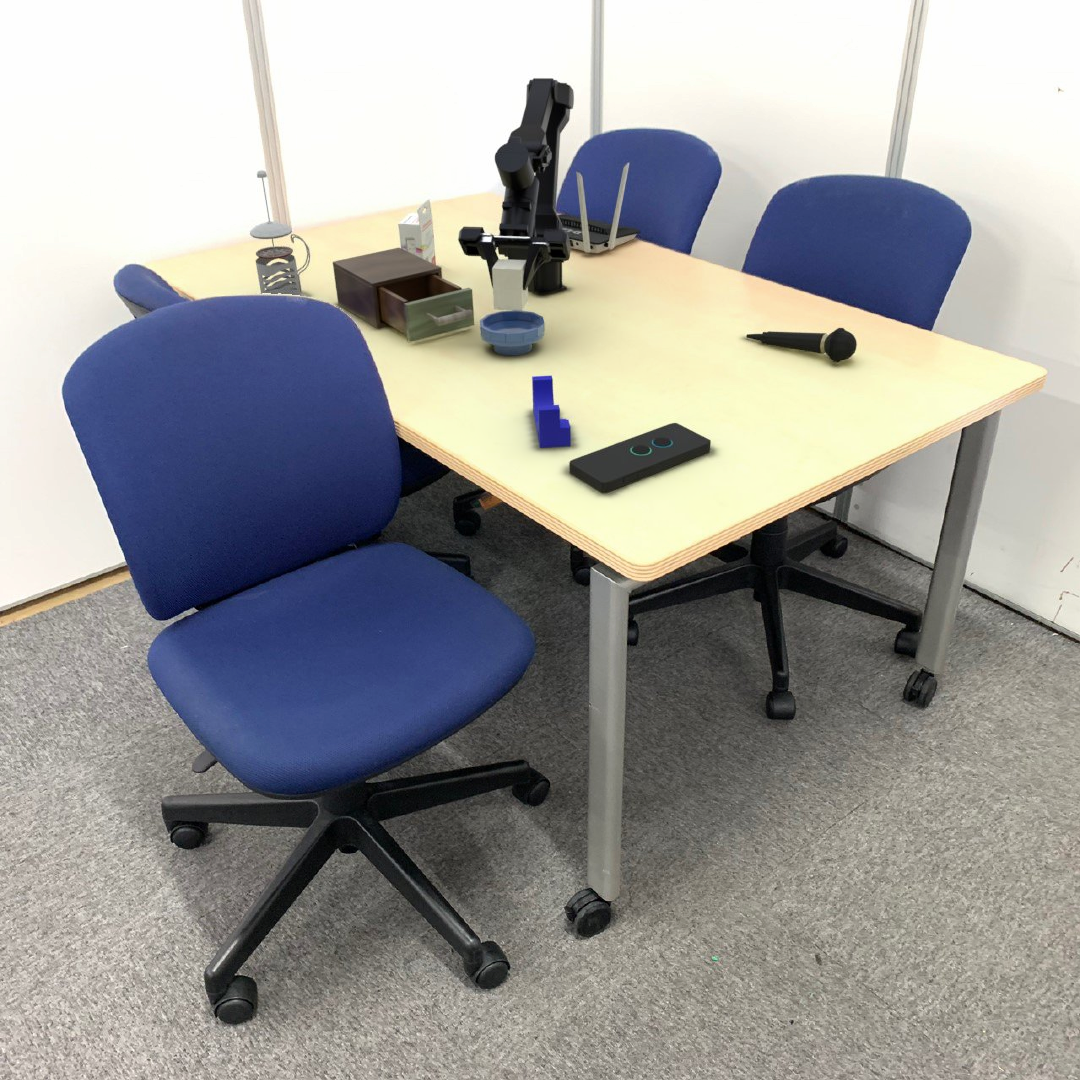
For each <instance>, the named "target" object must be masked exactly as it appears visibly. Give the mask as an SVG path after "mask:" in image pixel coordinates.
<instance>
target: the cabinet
mask: <svg viewBox="0 0 1080 1080" xmlns="http://www.w3.org/2000/svg"><path fill="white" fill-rule="evenodd" d="M332 267H333V275H334V283H335V290H336V291H335V292H336V298H337V304H338V305H337V306H339V307H341V308H343V309H344V310H346V311H348V312H350V313H351V314H353V315H354V316H356V317H357V318H359V319H361V320H363V321H364V322H366V323H368V324H369V325H371V326H372V327H374V328H375V329H381V328H385V327H389V326H390V325H389V324H387V323H386V322H384V321H382V320H381V319H380V315H379V306H378V297H377V288H376V287H378V286H382V285H387V284H391V283H395V282H400V281H404V280H408V279H412V278H417V277H421V276H425V275H430V274H435V275H437V276H439V277H441V278H443V271H442V266H439V265H437V264H436V265H435V264H432V263H430V262H428V261H426V260H424V259H422V258H420V257H418V256H416V255H414V254H412V253H410V252H407V251H405V250H403V249H401V247H394V248H389V249H385V250H381V251H377V252H372V253H368V254H362V255H358V256H354V257H347V258H343V259H339V260H334V261H332Z"/></svg>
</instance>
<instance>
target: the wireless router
mask: <svg viewBox="0 0 1080 1080" xmlns="http://www.w3.org/2000/svg"><path fill="white" fill-rule="evenodd" d="M629 168H630V162H627V163H625V165H624V166H623V169H622V173H621V179H620V184H619V189H618V194H617V198H616V199H617V200H616V203H615V204H616V205H615V209H614V215H613V219H612V223H611V222H610V223H609V222H605V221H600V220H595V219H591V218H588V213H587V206H586V197H585V196H586V195H585V189H584V188H585V187H584V180H583V179H584V178H583V176H582V174H581V173H580V172H579V171H576V180H577V181H576V182H577V192H578V201H579V212H580V216H576V215H571V214H566V213H565V214H563V213H561V214H557V215H558V217H559V219H560V221H561V223H562V225H563V230H565V231H566V232H567V233H568V236H569V240H570V245H571V249H575V250H578V251H579V250H580V251H583V252H584V253H586V254H589V253H592V254H600V253H602V252H604V251H607V250H613V249H614V248H615V247H617V246H619V245H621V244H625V243H627V242H630V241H632V240H634V239H635V238H636V236H637V235H638V234H641V233H642V231H641V229H638V228H634V227H629V226H624V225H621V224H620V225H619V221H620V215H621V210H622V205H623V199H624V195H625V189H626V183H627V178H628V173H629Z"/></svg>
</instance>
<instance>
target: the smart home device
mask: <svg viewBox="0 0 1080 1080" xmlns="http://www.w3.org/2000/svg"><path fill="white" fill-rule="evenodd" d="M711 443H712V441H711V439H709V438H707V437H705V436H703V435H702V434H699V433H697V432H696V431H693V430H692V429H690V428H688V427H686V426H684V425H682V424H680V423H678V422H672V423H668V424H666V425H663V426H660V427H657V428H654V429H652V430H649V431H646V432H644V433H641V434H638V435H636V436H633V437H631V438H627V439H625V440H622V441H619V442H616V443H614V444H610V445H608V446H606V447H602V448H600V449H598V450H595V451H592V452H590V453H587V454H584V455H581V456H579V457H576V458H573V459H571V460H570V461H569V462H568V463H569V465H568V469H569V471H568V472H569V474H571V475H573V476H574V477H576V478H578V479H579V480H581V481H582V482H584V483H586V484H587V485H589V486H590V487H592V488H593V489H595V490H597V491H598V492H600V493H601V494H605V493H610V492H612V491H614V490H617V489H619V488H623V487H625V486H627V485H630V484H633V483H635V482H637V481H640V480H642V479H645V478H647V477H650V476H653V475H655V474H657V473H660V472H663V471H665V470H668V469H670V468H673V467H675V466H677V465H681V464H683V463H685V462H688V461H690V460H693V459H695V458H699V457H701V456H703V455H706V454H708V453H709V452H711Z"/></svg>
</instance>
